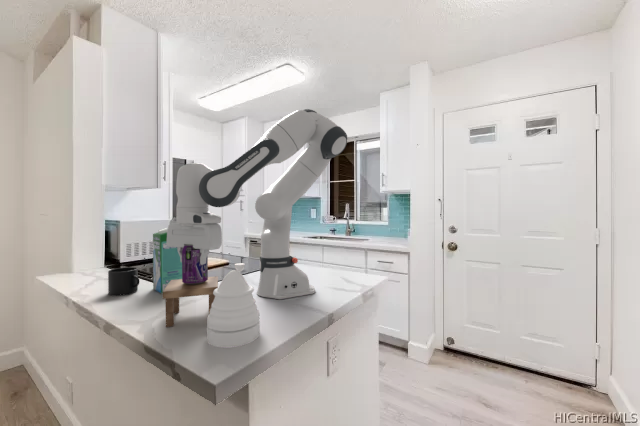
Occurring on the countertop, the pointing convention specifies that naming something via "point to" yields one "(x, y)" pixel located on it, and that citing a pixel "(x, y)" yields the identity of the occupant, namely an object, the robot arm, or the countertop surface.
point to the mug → (123, 281)
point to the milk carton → (164, 261)
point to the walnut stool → (186, 295)
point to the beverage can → (193, 266)
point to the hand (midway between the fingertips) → (193, 263)
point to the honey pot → (233, 312)
